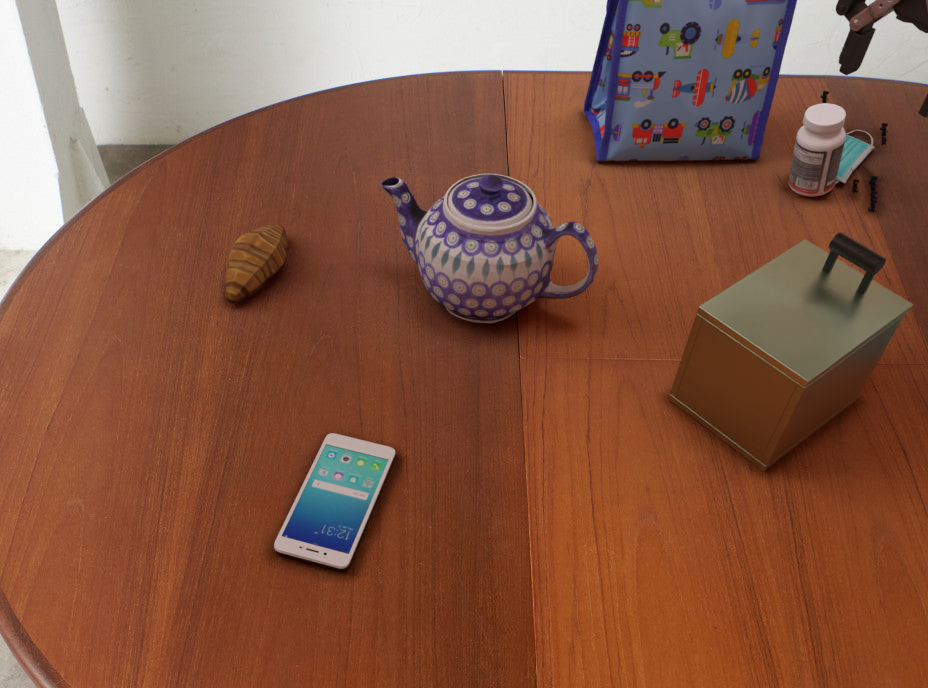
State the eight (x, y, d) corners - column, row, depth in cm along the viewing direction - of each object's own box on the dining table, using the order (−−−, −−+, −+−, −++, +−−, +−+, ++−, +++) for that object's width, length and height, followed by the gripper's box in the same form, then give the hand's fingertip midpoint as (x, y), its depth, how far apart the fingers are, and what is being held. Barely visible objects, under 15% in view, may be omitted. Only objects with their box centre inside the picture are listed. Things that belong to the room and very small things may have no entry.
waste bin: (761, 335, 105) (797, 248, 95) (856, 400, 99) (905, 314, 90) (667, 399, 99) (696, 313, 89) (763, 471, 93) (805, 388, 84)
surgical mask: (820, 85, 129) (897, 97, 127) (810, 115, 132) (884, 127, 130) (812, 168, 117) (896, 183, 115) (801, 199, 120) (882, 213, 118)
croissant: (261, 315, 105) (255, 280, 101) (206, 301, 107) (199, 266, 103) (308, 243, 113) (304, 208, 109) (256, 231, 114) (251, 196, 110)
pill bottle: (821, 167, 123) (837, 95, 115) (843, 191, 119) (860, 119, 112) (779, 178, 123) (792, 107, 115) (799, 202, 119) (814, 131, 112)
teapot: (607, 288, 109) (633, 174, 97) (558, 371, 101) (580, 258, 89) (414, 224, 116) (416, 110, 104) (353, 298, 107) (348, 183, 95)
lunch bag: (733, 108, 133) (804, -124, 109) (758, 164, 124) (841, -74, 101) (580, 110, 132) (619, -124, 108) (596, 167, 123) (642, -73, 100)
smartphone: (398, 448, 93) (347, 569, 84) (398, 453, 94) (348, 574, 85) (327, 430, 94) (270, 548, 85) (328, 436, 95) (271, 553, 86)
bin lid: (802, 245, 96) (819, 204, 92) (910, 310, 90) (933, 270, 86) (696, 312, 89) (709, 272, 85) (805, 387, 84) (825, 348, 80)
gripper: (1093, -91, 69) (980, 115, 82) (928, -153, 76) (848, 46, 89) (1037, -67, 66) (929, 142, 79) (871, -135, 73) (797, 69, 86)
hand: (886, 92), depth 84 cm, fingers open, 8 cm apart
